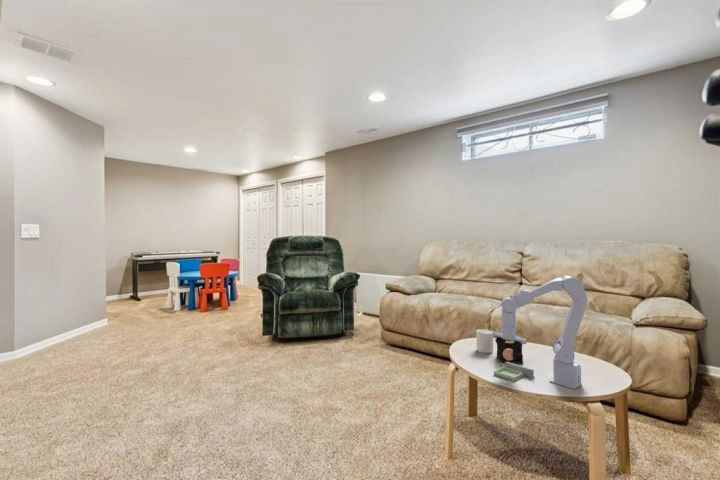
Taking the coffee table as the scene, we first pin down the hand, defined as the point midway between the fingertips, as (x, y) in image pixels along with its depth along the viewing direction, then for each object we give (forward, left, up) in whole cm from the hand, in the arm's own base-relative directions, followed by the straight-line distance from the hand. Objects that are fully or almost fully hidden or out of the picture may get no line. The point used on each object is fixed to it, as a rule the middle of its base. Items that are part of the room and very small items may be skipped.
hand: (508, 356), depth 147 cm
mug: (+24, -23, -8) cm, 34 cm away
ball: (0, 0, +1) cm, 1 cm away
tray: (0, 0, -8) cm, 8 cm away
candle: (+9, -18, -8) cm, 22 cm away
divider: (-2, -5, -8) cm, 10 cm away
